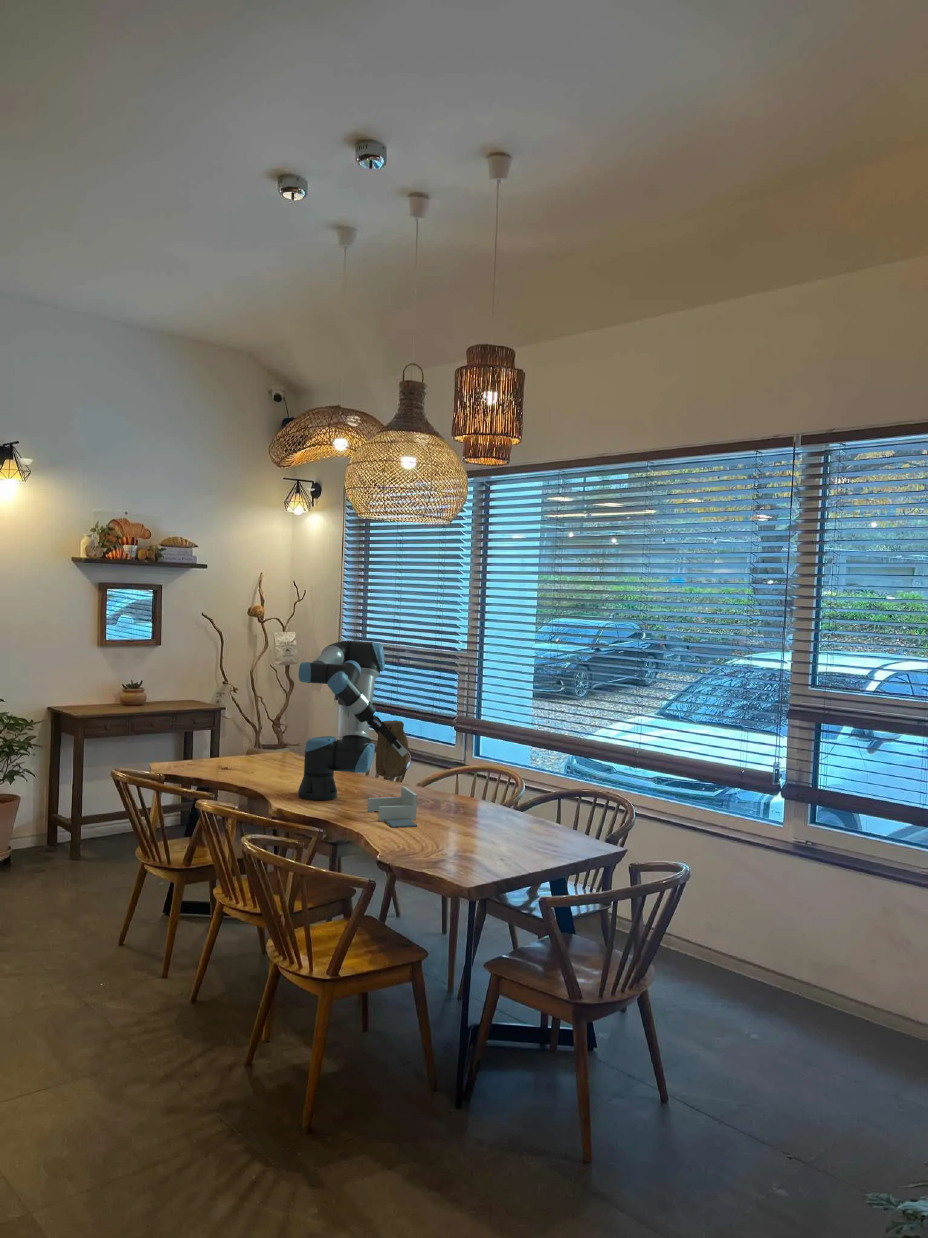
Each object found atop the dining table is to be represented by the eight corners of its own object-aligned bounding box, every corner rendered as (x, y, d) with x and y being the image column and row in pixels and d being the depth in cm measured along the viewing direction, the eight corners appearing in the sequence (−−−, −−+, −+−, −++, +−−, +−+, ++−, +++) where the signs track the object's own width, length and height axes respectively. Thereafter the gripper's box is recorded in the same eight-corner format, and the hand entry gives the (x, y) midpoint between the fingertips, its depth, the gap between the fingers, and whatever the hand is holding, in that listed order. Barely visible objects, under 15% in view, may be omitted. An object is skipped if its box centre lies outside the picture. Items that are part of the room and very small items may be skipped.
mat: (384, 821, 316) (384, 819, 316) (408, 820, 320) (408, 818, 320) (392, 828, 308) (392, 826, 308) (417, 826, 312) (417, 825, 312)
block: (381, 778, 318) (385, 723, 318) (373, 774, 325) (376, 719, 324) (408, 776, 324) (412, 722, 323) (399, 772, 330) (402, 719, 330)
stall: (367, 811, 329) (369, 787, 329) (403, 810, 334) (404, 786, 334) (379, 821, 316) (380, 796, 316) (415, 819, 322) (417, 794, 321)
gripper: (346, 711, 327) (385, 753, 334) (362, 719, 308) (403, 764, 315) (360, 696, 329) (399, 739, 336) (377, 704, 310) (418, 749, 317)
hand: (401, 751), depth 326 cm, fingers closed on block, 8 cm apart
